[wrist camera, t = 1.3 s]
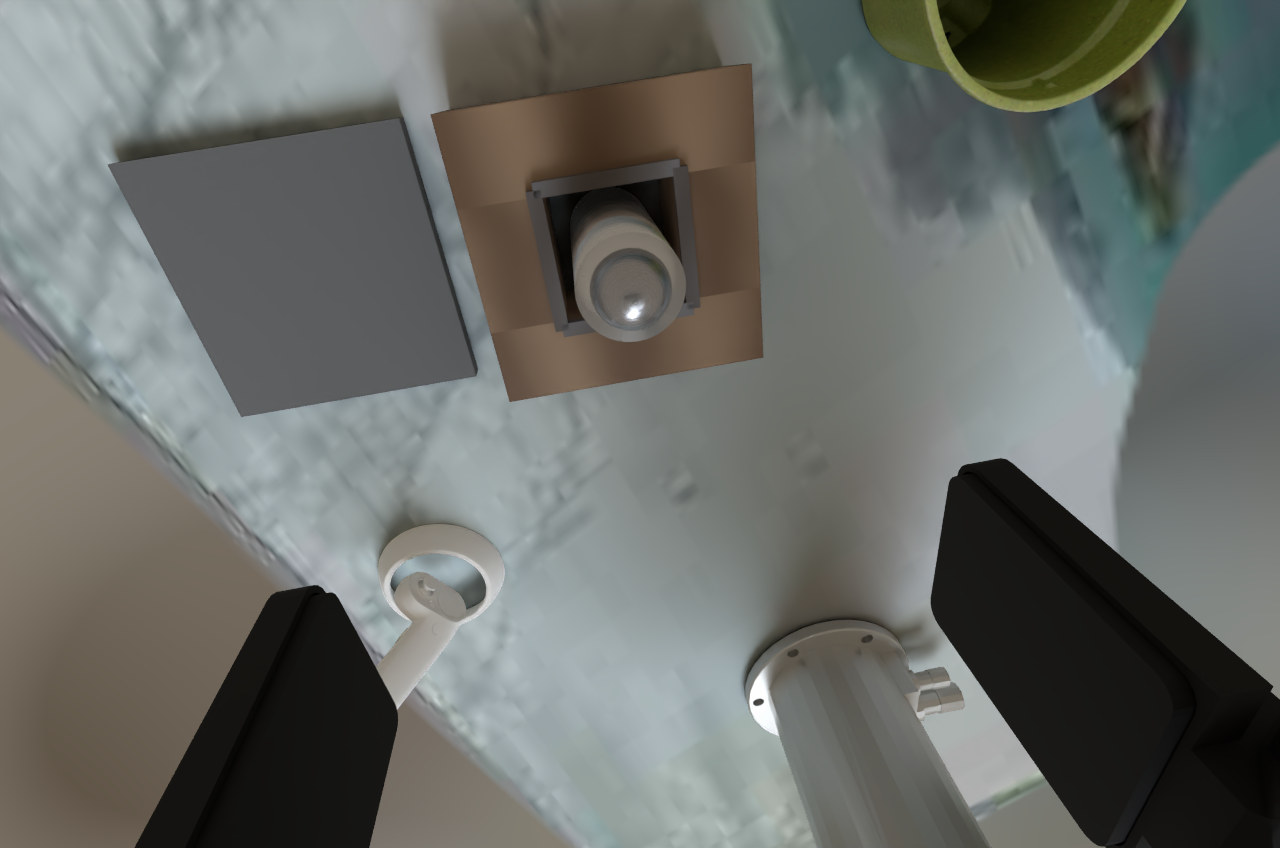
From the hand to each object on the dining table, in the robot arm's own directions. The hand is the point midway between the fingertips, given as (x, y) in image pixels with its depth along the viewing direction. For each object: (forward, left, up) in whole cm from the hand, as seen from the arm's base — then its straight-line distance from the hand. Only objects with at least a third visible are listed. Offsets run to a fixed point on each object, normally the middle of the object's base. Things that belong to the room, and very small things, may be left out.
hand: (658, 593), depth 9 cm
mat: (+13, -1, -23) cm, 27 cm away
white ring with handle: (+13, +18, -24) cm, 33 cm away
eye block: (-1, -1, -23) cm, 23 cm away
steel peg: (-1, -1, -23) cm, 23 cm away
